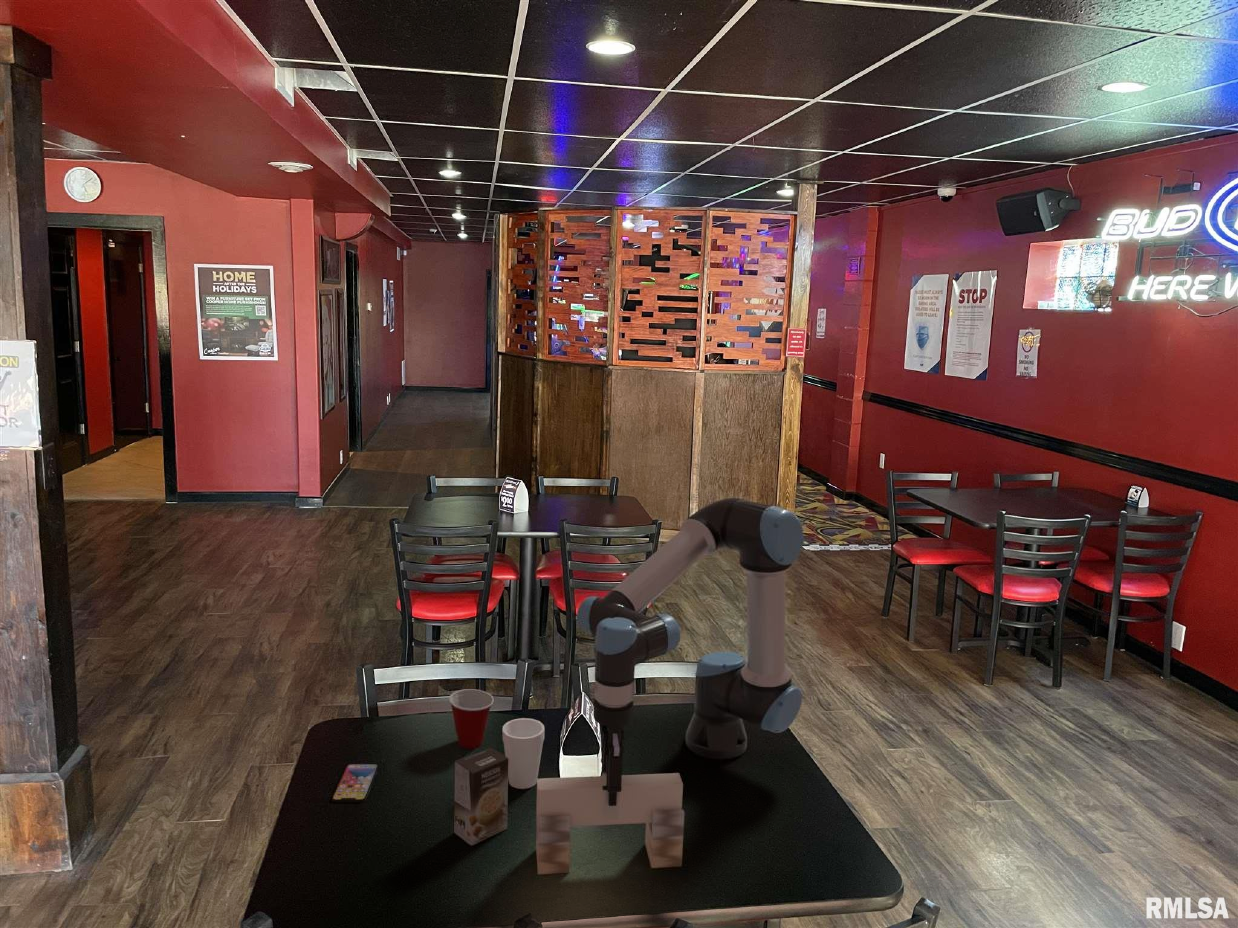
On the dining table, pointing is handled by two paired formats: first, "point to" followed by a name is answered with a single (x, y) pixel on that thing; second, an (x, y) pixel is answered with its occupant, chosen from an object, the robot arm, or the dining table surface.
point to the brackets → (659, 841)
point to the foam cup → (523, 751)
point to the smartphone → (355, 783)
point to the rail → (588, 798)
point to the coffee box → (481, 795)
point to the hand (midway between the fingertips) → (609, 810)
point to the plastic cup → (470, 715)
